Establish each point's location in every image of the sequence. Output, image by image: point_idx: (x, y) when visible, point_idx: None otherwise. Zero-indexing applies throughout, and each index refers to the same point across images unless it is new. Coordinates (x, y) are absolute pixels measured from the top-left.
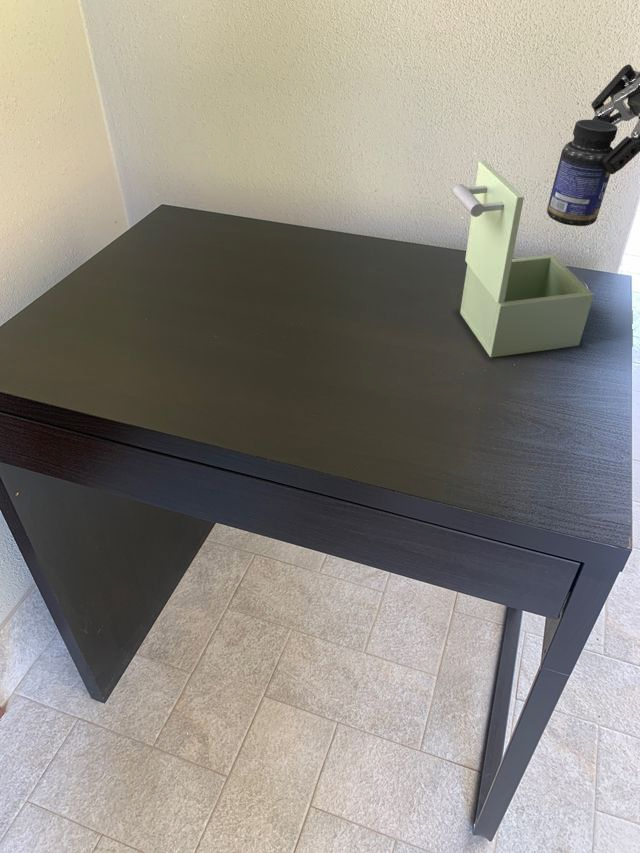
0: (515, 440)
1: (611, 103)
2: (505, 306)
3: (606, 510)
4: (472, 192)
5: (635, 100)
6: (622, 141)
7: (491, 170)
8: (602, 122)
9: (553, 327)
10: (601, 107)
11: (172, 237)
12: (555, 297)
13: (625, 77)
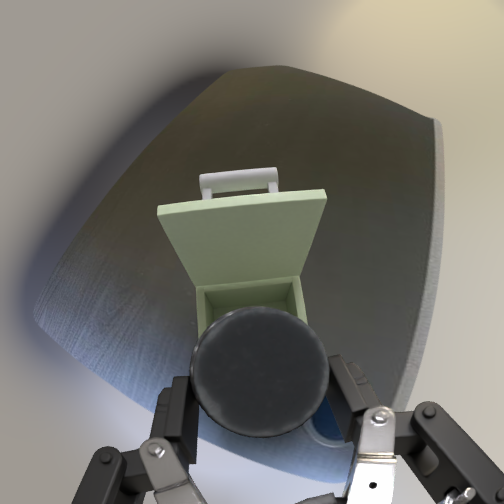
0: (105, 288)
1: (380, 451)
2: (196, 291)
3: (46, 319)
4: (268, 192)
5: None
6: (177, 421)
7: (279, 195)
8: (297, 406)
9: None
10: (392, 424)
11: (394, 116)
12: None
13: (465, 498)
